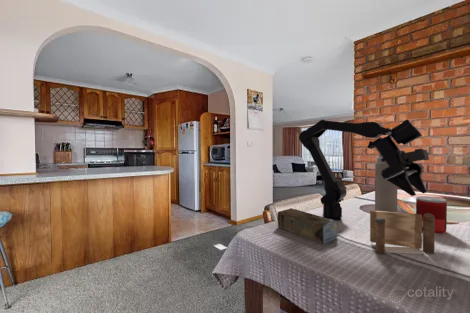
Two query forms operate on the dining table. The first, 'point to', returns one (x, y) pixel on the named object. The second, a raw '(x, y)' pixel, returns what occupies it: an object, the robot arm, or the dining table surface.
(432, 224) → the hinge post
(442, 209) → the canned food
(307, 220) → the beverage carton
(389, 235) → the gate
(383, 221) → the post
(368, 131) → the robot arm
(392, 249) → the threshold
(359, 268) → the dining table surface
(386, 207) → the thermos bottle
